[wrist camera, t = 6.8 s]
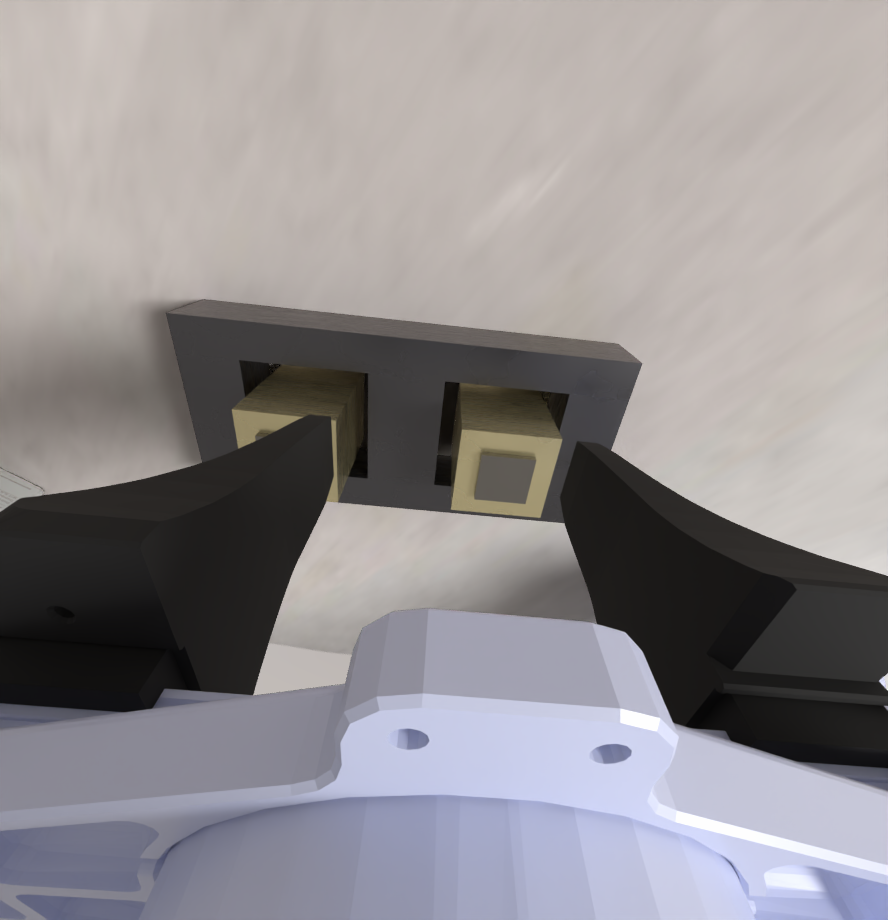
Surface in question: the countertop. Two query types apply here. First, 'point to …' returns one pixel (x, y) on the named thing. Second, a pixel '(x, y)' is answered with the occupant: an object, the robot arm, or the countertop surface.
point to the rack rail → (397, 387)
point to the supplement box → (15, 489)
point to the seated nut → (502, 451)
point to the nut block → (307, 411)
